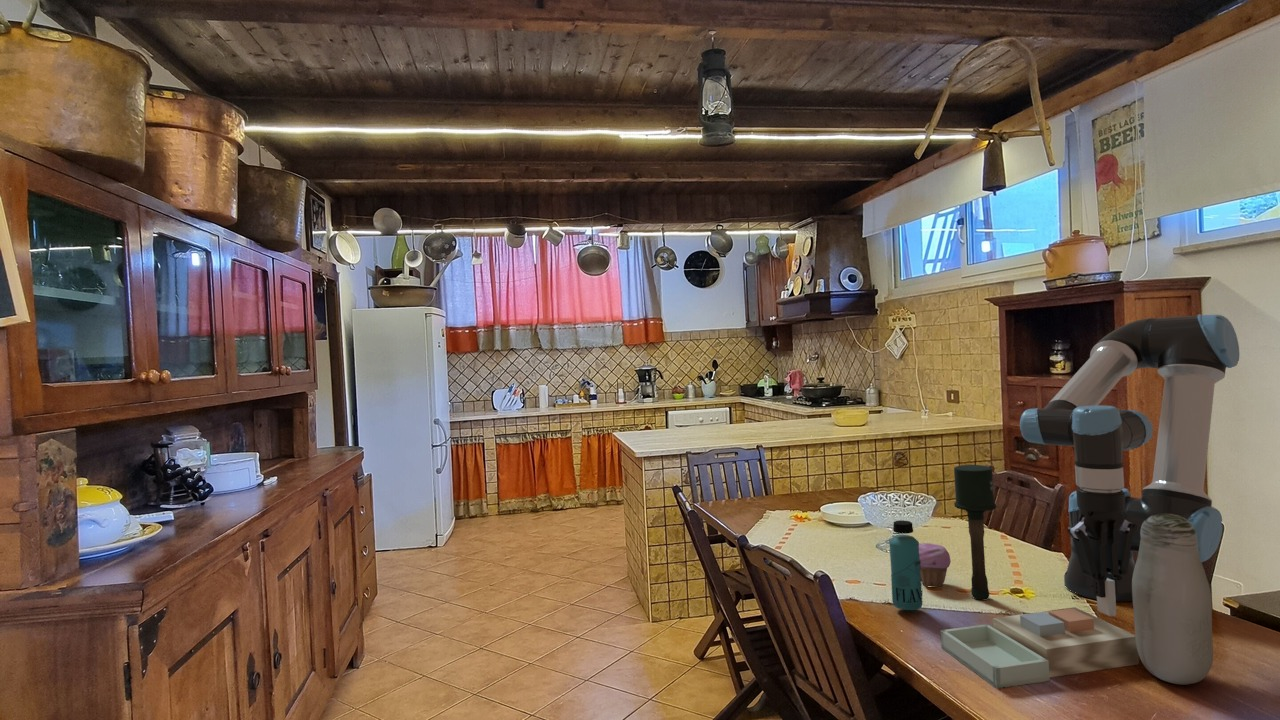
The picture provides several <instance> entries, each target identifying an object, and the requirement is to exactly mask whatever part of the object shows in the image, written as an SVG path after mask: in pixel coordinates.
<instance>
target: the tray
mask: <svg viewBox="0 0 1280 720" xmlns="http://www.w3.org/2000/svg"><path fill="white" fill-rule="evenodd" d="M940 646H941V649H942V651H943V650H944V651H945V652H946V653H947V654H949V655H950V656H951V657H952V658H954V659H955V660H957V661H958V662H960V663H961V664H962V665H964V666H965V667H967V668H968V669H969V670H971V671H972V672H974V674H976V675H977V676H979V677H980V678H982V680H984V681H985V682H987V683H988V684H990V685H991V686H992V687H994V688H995V689H998V688H999V689H1004V688H1003V687H1005V688H1010V686H1012V687H1018V685H1019V686H1025V685H1029V684H1038V683H1044V682H1050V681H1051V679H1050V678H1051V677H1049V661H1048V660H1046V659H1045V658H1043V657H1041V656H1040V655H1038V654H1036V653H1035V652H1033V651H1031V650H1030V649H1028V648H1026V647H1025V646H1023V645H1021V644H1020V643H1018V642H1016V641H1015V640H1013V639H1011V638H1010V637H1008V636H1006V635H1005V634H1003V633H1001V632H1000V631H998V630H996V629H995V628H993V626H992V625H990V624H988V623H987V624H986V623H985V624H977V625H971V626H963V627H957V628H955V627H954V628H949V629H948V628H947V629H941V630H940Z"/></svg>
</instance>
